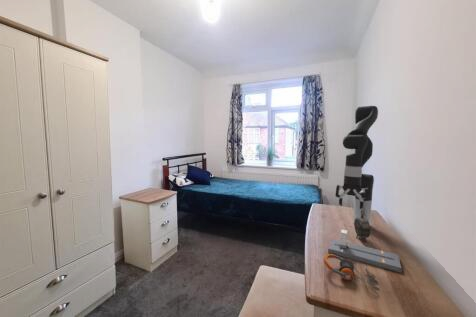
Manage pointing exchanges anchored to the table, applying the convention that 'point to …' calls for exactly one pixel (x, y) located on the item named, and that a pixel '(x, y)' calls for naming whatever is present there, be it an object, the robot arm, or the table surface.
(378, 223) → the table surface
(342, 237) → the fader
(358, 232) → the alarm clock
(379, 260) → the console
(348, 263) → the headphones
